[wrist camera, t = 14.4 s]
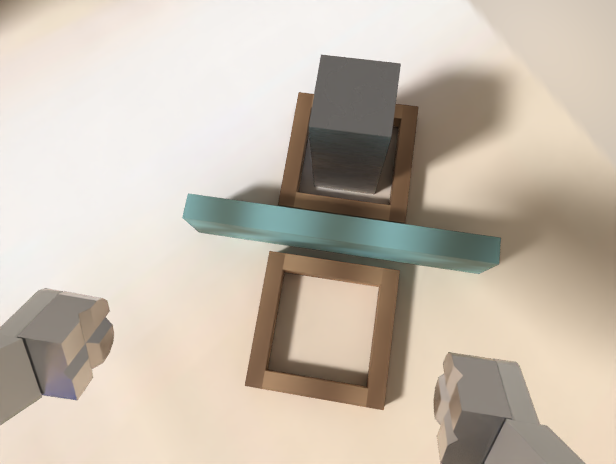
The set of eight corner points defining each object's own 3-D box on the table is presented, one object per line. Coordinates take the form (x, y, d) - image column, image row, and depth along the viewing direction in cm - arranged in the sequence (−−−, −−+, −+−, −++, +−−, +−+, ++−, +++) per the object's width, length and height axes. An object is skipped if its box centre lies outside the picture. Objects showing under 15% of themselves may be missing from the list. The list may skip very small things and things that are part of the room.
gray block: (314, 186, 30) (308, 126, 22) (323, 131, 31) (321, 54, 23) (374, 194, 30) (391, 137, 22) (381, 138, 31) (400, 63, 23)
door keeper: (168, 370, 28) (145, 373, 24) (230, 93, 32) (218, 63, 29) (467, 422, 26) (488, 433, 23) (489, 124, 31) (509, 97, 27)
